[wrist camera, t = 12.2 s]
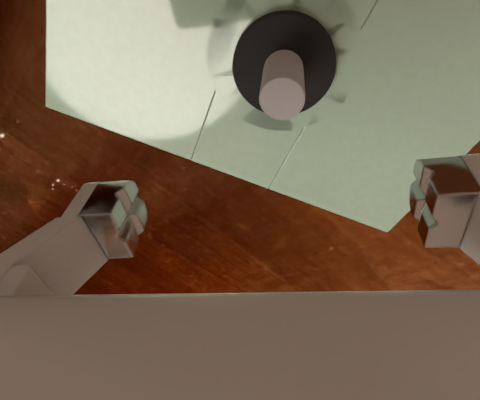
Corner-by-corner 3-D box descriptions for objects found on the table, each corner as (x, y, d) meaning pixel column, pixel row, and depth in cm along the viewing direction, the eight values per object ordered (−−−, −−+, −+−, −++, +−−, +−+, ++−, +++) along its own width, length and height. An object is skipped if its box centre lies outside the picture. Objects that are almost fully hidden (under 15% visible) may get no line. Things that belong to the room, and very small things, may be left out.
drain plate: (64, 89, 24) (45, 107, 22) (80, -290, 13) (46, -319, 11) (381, 209, 27) (387, 233, 26) (585, -13, 17) (621, 0, 15)
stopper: (225, 75, 21) (207, 126, 17) (259, -19, 18) (248, 14, 13) (304, 108, 22) (307, 165, 18) (351, 24, 19) (369, 68, 14)
